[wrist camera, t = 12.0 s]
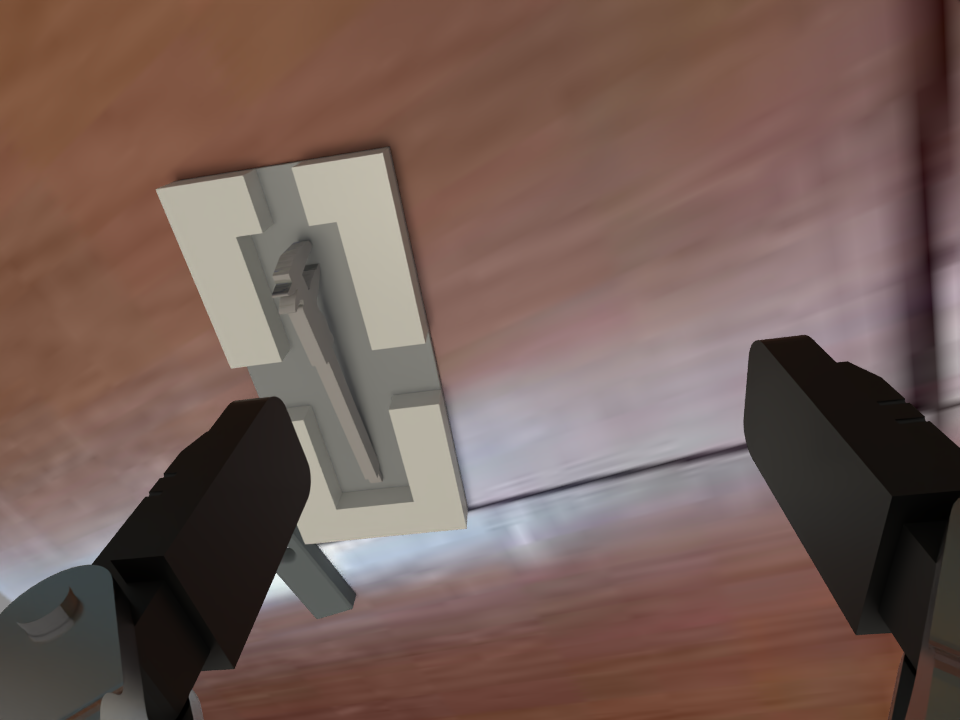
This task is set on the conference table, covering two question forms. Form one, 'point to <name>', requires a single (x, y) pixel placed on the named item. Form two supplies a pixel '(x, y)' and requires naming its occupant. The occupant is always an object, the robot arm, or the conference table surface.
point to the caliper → (321, 346)
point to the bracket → (314, 578)
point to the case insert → (351, 320)
